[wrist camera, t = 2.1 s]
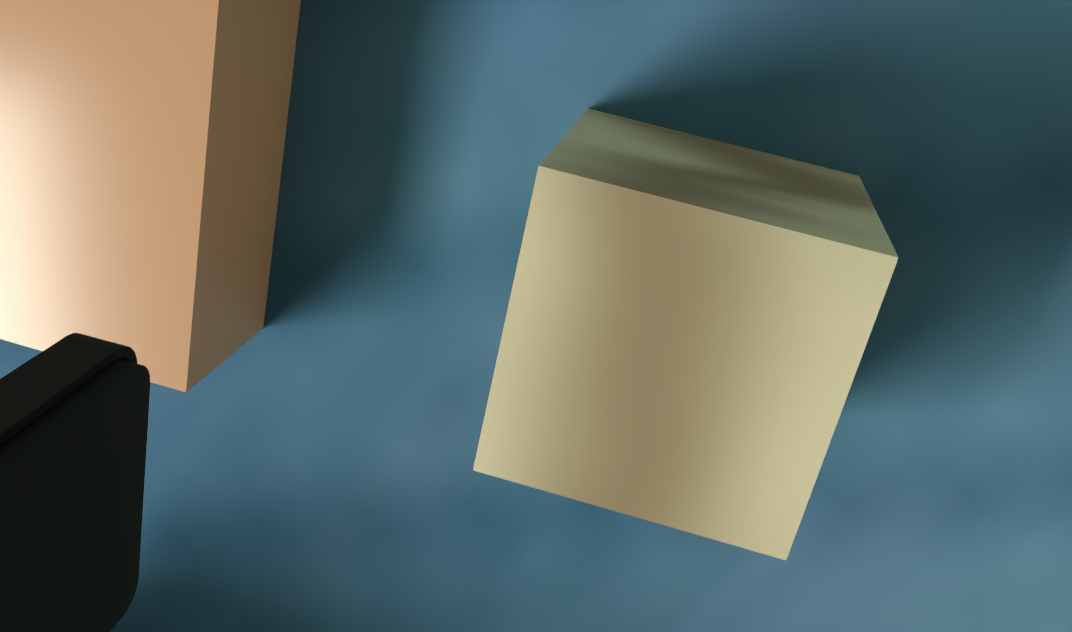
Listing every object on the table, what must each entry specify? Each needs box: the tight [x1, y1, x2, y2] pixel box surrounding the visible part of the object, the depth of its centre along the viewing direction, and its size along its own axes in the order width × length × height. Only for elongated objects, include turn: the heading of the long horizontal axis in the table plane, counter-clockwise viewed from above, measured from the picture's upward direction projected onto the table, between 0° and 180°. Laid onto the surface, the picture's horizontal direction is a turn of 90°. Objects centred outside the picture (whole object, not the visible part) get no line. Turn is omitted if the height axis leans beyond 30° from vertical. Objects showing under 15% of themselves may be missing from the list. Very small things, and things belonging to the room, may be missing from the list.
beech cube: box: [473, 108, 898, 560], centre depth 19 cm, size 6×6×6 cm
